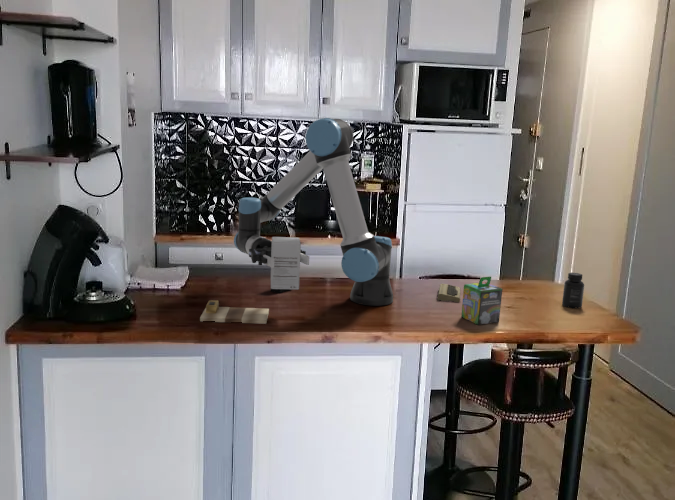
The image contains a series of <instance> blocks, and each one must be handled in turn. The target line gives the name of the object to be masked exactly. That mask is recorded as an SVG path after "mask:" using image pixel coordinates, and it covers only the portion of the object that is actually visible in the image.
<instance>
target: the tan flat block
mask: <svg viewBox="0 0 675 500" xmlns="http://www.w3.org/2000/svg"><path fill="white" fill-rule="evenodd" d="M439 300H441V301H442V302H449V301H454V302H453V303H460V301H461V287H459V286H456V285H452V284H448V283H440V284H439V287H438V293H437V301H439ZM441 301H440V302H441Z"/></svg>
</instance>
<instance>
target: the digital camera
mask: <svg viewBox="0 0 675 500" xmlns="http://www.w3.org/2000/svg"><path fill="white" fill-rule="evenodd" d="M291 290H293V289H271V288H270V292H272V293H275V294H283V293H286V292H288V291H291Z"/></svg>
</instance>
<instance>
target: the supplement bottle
mask: <svg viewBox="0 0 675 500" xmlns="http://www.w3.org/2000/svg"><path fill="white" fill-rule="evenodd" d="M584 291H585V283H584V282H583V274H581V273H578V272H569V273H568V274H567V280H565V281H564V284H563V291H562V293H563V294H562V300H561V301H562V303H561V304H562V306H563V307H566V308H569V309H581V308H582V307H583V299H584Z"/></svg>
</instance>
